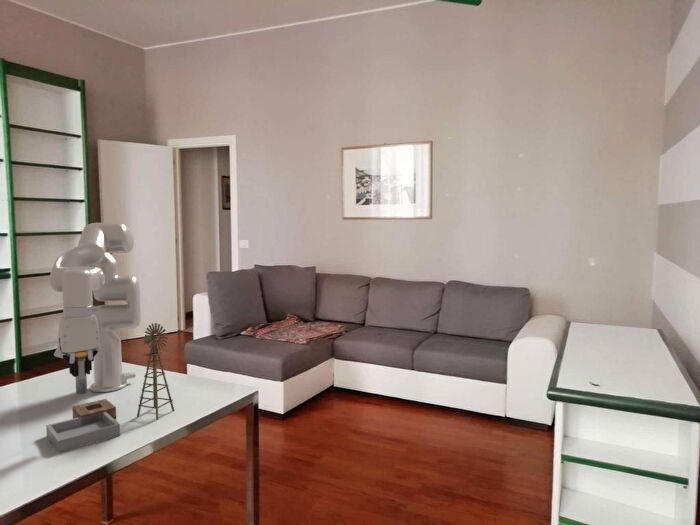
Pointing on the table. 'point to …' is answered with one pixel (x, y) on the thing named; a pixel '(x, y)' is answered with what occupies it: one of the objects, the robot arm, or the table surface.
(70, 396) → the table surface
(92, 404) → the socket block
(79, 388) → the pin
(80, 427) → the tray
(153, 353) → the miniature windmill
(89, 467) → the table surface
